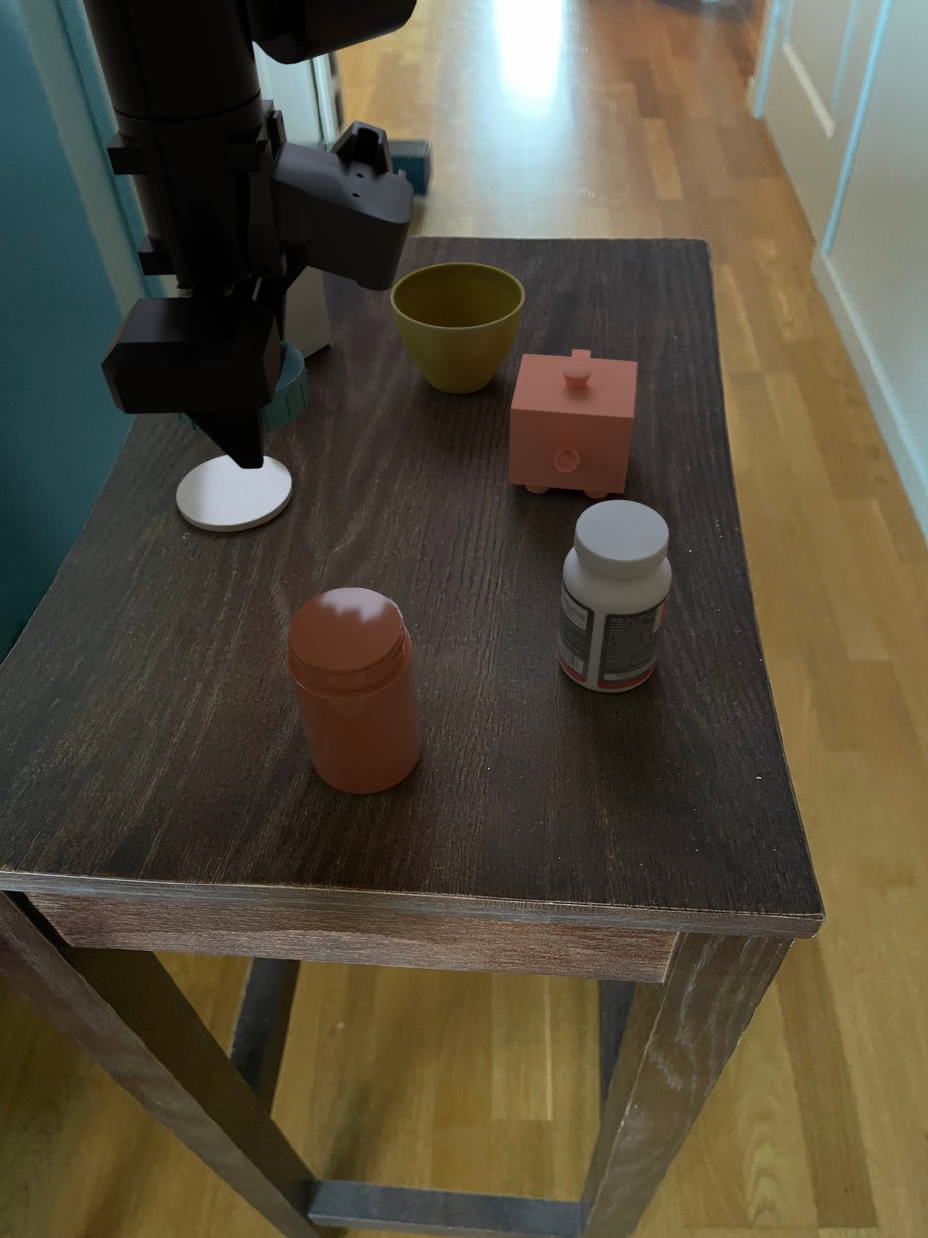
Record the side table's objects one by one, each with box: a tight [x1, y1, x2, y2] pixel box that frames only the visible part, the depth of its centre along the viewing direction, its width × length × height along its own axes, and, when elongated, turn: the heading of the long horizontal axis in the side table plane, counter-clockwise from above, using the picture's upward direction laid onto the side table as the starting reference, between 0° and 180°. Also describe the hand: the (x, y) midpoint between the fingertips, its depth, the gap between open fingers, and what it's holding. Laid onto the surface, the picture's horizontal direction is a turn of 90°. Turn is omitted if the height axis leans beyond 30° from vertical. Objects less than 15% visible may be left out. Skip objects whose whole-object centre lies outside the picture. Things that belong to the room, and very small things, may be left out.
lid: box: [176, 340, 312, 436], centre depth 45 cm, size 7×7×2 cm
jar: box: [285, 586, 423, 795], centre depth 46 cm, size 6×6×10 cm
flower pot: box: [389, 261, 526, 395], centre depth 71 cm, size 10×10×7 cm
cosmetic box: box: [284, 266, 332, 360], centre depth 72 cm, size 6×4×12 cm
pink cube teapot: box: [508, 348, 639, 499], centre depth 62 cm, size 8×12×8 cm, turn 171°
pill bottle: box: [557, 499, 673, 693], centre depth 49 cm, size 6×6×10 cm
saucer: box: [175, 454, 294, 533], centre depth 64 cm, size 8×8×1 cm
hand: (262, 427), depth 47 cm, fingers closed on lid, 6 cm apart
